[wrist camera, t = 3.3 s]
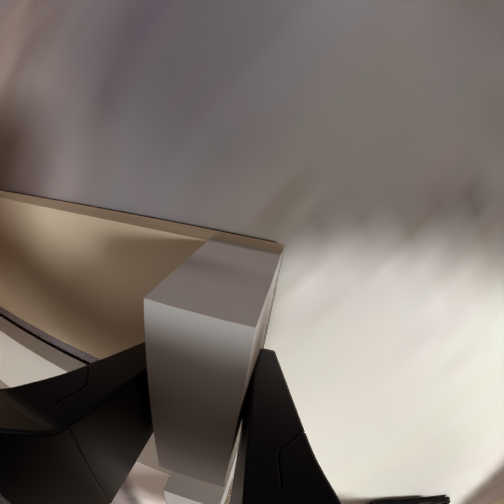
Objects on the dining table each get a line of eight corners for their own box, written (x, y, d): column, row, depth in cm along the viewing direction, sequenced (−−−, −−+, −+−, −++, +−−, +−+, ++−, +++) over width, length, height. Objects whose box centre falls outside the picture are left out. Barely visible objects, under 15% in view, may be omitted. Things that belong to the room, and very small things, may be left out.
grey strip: (232, 478, 14) (211, 542, 10) (-29, 342, 17) (-61, 366, 13) (246, 421, 12) (219, 507, 8) (-48, 281, 15) (-86, 303, 11)
